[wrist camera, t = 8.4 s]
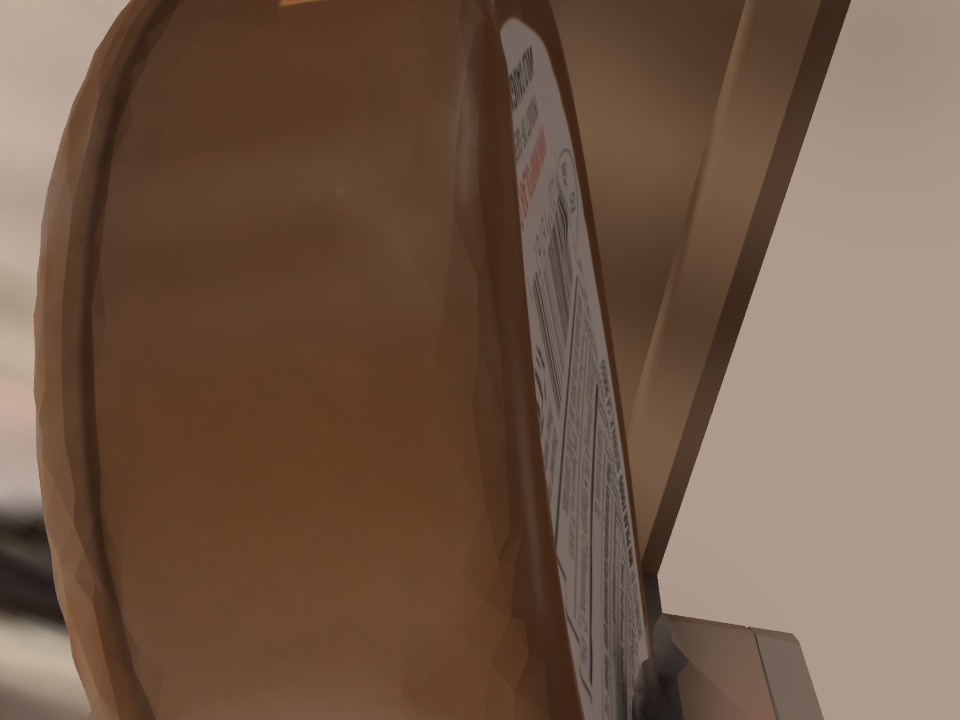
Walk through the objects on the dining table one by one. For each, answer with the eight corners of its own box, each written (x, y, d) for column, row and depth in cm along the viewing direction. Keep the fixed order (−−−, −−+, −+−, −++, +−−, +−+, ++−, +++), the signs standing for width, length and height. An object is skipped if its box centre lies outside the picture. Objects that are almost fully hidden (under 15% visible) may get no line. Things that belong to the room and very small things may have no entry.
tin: (342, -65, 10) (-483, 70, 3) (605, -123, 9) (353, -134, 2) (537, 754, 17) (435, 1396, 10) (697, 763, 16) (716, 1474, 9)
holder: (392, -446, 15) (106, -989, 6) (934, -361, 15) (1555, -763, 6) (330, 536, 27) (205, 886, 18) (632, 586, 27) (668, 965, 18)
